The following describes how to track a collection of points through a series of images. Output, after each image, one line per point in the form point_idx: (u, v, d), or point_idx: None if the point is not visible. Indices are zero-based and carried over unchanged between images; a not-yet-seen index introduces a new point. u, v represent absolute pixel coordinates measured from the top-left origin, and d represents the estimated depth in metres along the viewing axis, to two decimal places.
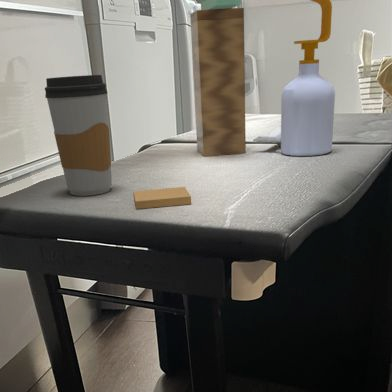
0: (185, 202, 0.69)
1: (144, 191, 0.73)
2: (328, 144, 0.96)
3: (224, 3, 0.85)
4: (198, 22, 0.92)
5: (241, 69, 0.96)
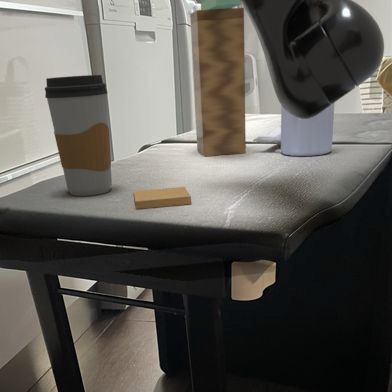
0: (185, 202, 0.69)
1: (144, 191, 0.73)
2: (328, 144, 0.96)
3: (224, 3, 0.85)
4: (198, 22, 0.92)
5: (241, 69, 0.96)
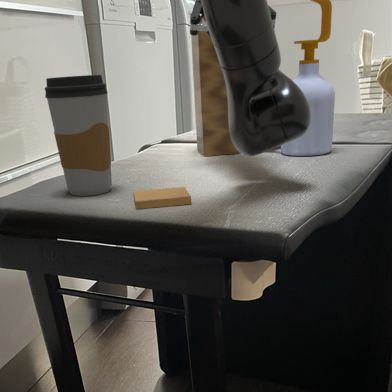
0: (185, 202, 0.69)
1: (144, 191, 0.73)
2: (328, 144, 0.96)
3: None
4: None
5: None
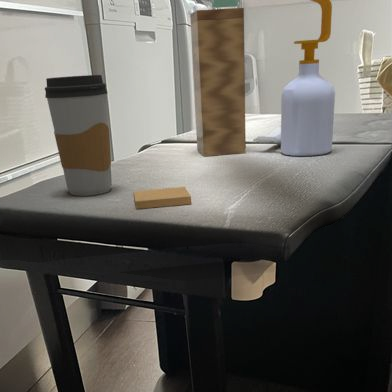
0: (185, 202, 0.69)
1: (144, 191, 0.73)
2: (328, 144, 0.96)
3: None
4: (198, 22, 0.92)
5: (241, 69, 0.96)
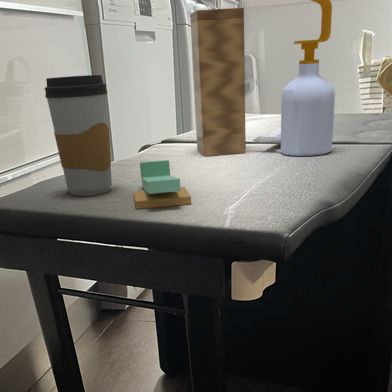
0: (185, 202, 0.69)
1: (144, 191, 0.73)
2: (328, 144, 0.96)
3: (158, 191, 0.66)
4: (198, 22, 0.92)
5: (241, 69, 0.96)
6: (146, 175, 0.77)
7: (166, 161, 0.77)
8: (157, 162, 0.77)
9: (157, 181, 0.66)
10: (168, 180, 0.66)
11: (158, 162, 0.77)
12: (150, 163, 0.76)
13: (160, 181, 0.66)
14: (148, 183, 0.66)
